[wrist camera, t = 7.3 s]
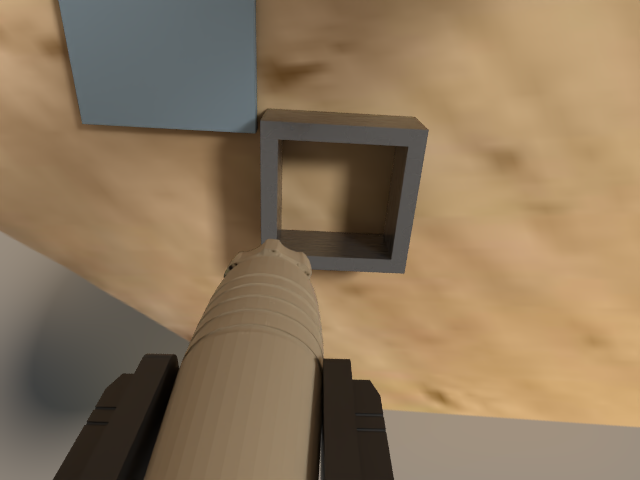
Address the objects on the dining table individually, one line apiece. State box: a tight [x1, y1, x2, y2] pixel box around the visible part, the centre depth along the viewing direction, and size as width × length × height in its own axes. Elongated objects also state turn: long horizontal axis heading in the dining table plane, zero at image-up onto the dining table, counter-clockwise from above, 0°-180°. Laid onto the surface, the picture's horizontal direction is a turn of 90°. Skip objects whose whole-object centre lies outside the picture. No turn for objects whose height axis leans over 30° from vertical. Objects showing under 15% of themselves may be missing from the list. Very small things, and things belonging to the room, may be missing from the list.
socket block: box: [260, 109, 429, 274], centre depth 33 cm, size 11×11×4 cm
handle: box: [144, 239, 324, 480], centre depth 10 cm, size 5×6×15 cm
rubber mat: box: [58, 0, 257, 133], centre depth 30 cm, size 14×13×1 cm
